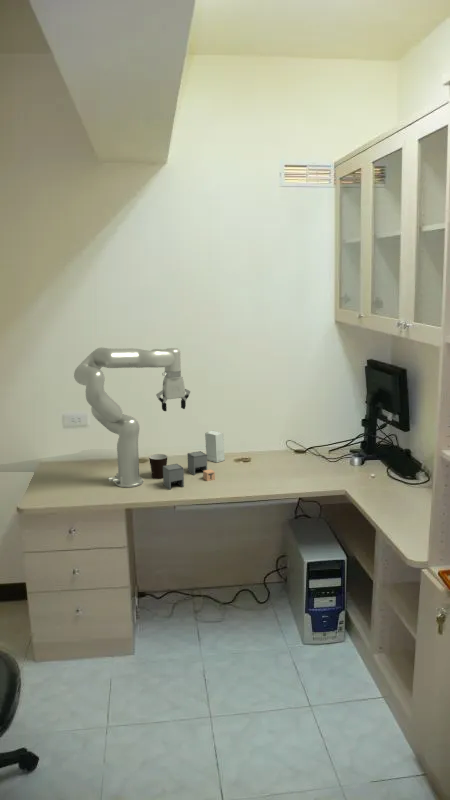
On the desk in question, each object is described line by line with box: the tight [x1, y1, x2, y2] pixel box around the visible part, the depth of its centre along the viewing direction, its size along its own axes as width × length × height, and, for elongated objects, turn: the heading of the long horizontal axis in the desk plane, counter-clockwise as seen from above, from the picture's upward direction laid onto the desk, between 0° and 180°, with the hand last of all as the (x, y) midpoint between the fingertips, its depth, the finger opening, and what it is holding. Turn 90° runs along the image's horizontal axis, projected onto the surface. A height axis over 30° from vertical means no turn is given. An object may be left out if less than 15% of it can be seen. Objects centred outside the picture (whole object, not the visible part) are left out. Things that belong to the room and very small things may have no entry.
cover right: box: [187, 450, 208, 476], centre depth 280 cm, size 7×7×9 cm
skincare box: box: [204, 430, 226, 463], centre depth 298 cm, size 8×6×15 cm
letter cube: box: [202, 468, 216, 482], centre depth 271 cm, size 4×4×4 cm
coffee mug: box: [148, 453, 168, 480], centre depth 275 cm, size 12×9×10 cm
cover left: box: [162, 463, 185, 491], centre depth 262 cm, size 7×7×9 cm
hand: (173, 409), depth 278 cm, fingers open, 9 cm apart
